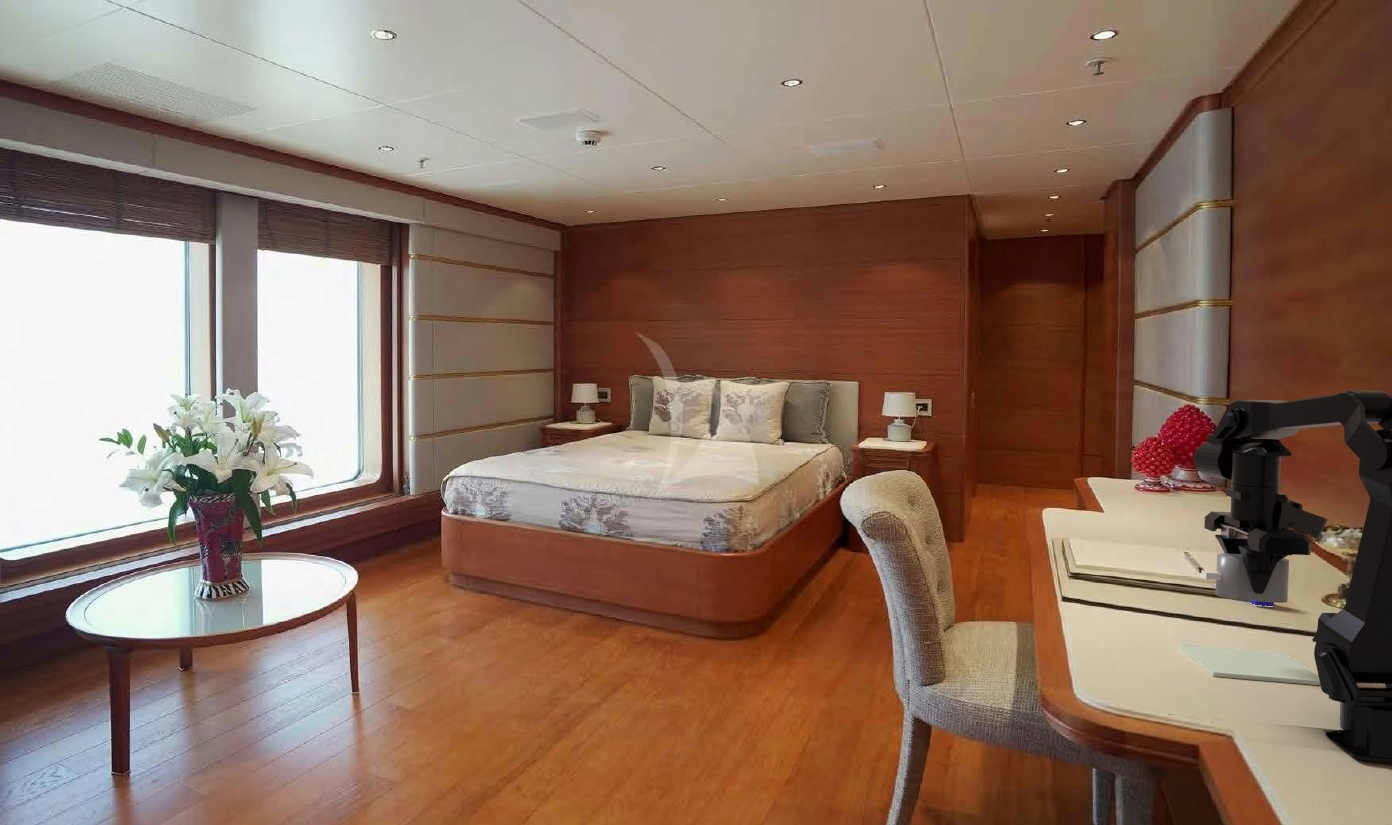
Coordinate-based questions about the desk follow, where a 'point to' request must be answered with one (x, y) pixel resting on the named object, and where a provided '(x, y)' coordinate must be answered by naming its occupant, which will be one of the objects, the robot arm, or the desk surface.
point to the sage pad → (1250, 664)
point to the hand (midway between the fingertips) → (1251, 589)
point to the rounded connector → (1247, 580)
